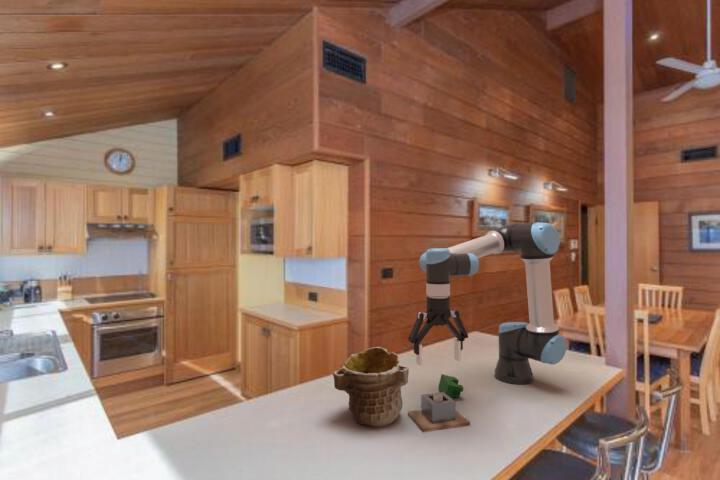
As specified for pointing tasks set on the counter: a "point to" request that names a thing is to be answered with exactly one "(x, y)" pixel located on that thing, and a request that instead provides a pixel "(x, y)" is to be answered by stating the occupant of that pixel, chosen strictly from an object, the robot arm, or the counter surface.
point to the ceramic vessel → (373, 385)
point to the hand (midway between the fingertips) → (438, 362)
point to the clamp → (450, 386)
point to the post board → (428, 426)
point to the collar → (438, 408)
